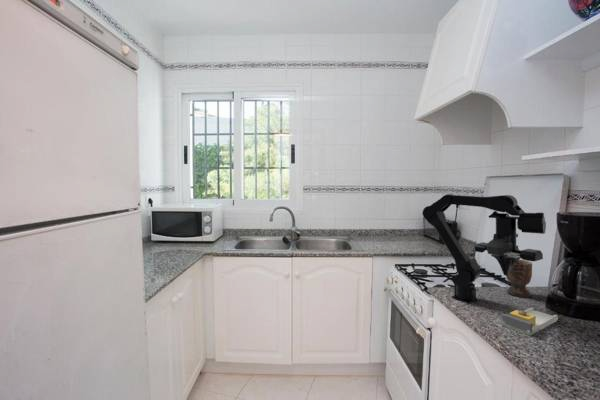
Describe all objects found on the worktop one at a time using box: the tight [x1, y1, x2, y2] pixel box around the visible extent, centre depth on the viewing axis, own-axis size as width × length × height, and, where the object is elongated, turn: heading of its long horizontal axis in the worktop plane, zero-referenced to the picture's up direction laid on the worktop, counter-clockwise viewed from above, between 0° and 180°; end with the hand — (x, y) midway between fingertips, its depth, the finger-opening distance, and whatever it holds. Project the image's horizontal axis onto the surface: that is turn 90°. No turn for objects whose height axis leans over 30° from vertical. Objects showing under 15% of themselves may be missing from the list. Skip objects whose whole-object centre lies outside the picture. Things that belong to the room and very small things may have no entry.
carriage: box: [509, 309, 536, 327], centre depth 84 cm, size 5×4×4 cm
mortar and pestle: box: [505, 248, 533, 298], centre depth 108 cm, size 12×9×20 cm
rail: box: [502, 307, 559, 337], centre depth 86 cm, size 7×18×4 cm, turn 118°
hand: (506, 275), depth 96 cm, fingers closed
